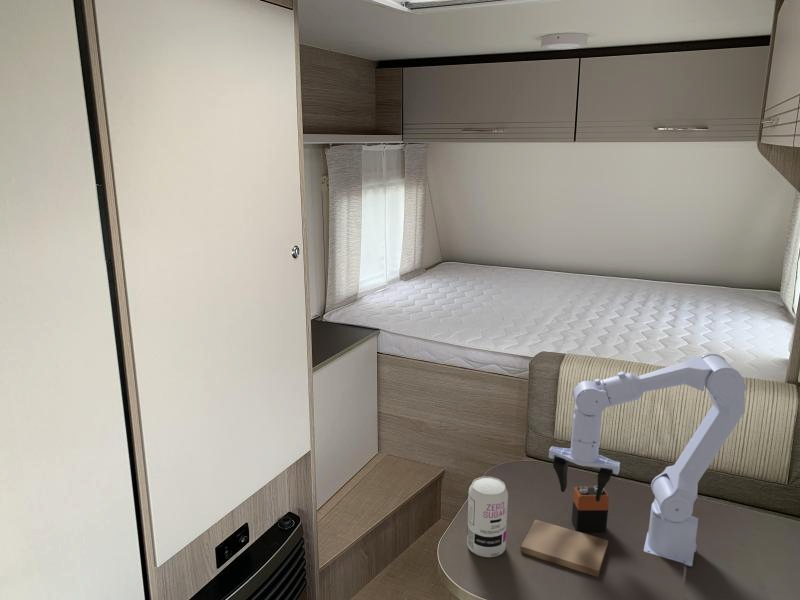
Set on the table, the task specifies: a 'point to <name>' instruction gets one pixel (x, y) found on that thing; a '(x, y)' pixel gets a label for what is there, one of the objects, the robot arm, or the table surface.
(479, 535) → the supplement can
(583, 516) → the battery
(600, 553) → the wooden flat block
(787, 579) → the table surface
